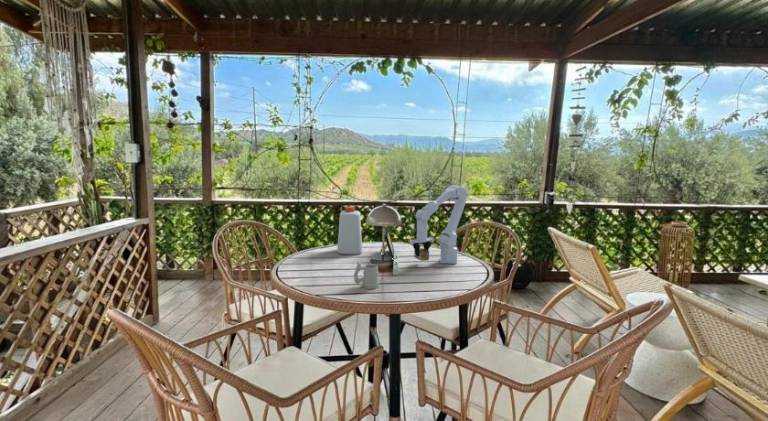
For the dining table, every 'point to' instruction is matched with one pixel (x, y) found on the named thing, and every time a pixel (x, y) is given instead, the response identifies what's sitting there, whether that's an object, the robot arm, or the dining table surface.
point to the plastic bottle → (349, 232)
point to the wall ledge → (395, 264)
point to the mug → (367, 276)
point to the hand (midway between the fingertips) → (421, 255)
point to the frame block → (422, 254)
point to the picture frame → (388, 243)
